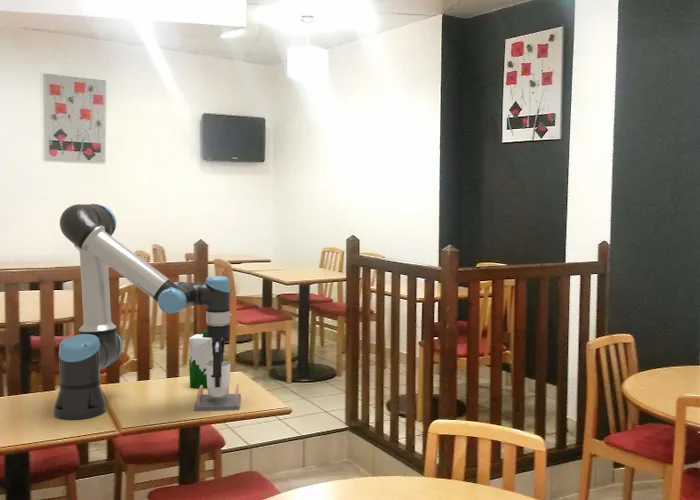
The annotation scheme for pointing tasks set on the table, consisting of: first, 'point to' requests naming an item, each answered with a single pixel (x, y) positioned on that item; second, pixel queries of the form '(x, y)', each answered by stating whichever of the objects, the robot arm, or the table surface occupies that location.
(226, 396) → the end holder
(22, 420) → the table surface
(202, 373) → the milk carton
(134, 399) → the table surface
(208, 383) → the white cup
